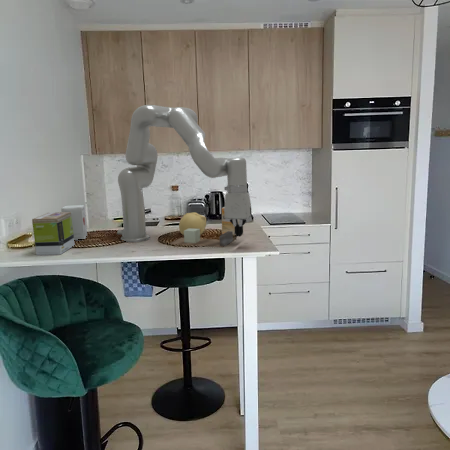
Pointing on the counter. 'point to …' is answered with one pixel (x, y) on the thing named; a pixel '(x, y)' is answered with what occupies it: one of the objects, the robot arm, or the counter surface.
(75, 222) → the supplement box
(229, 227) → the supplement box
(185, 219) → the sculpture
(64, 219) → the tea box
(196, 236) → the sage block
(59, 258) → the counter surface
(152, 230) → the counter surface
